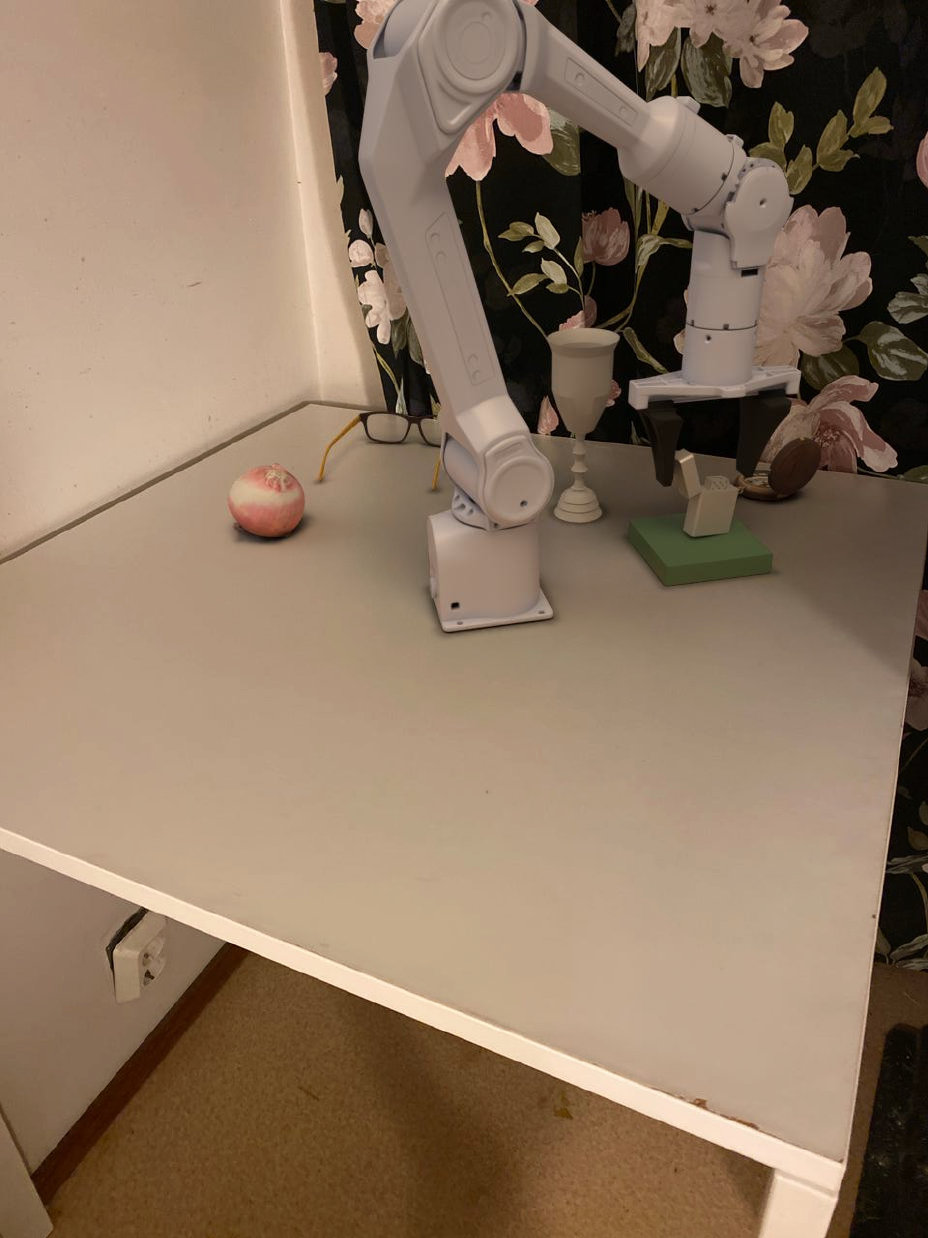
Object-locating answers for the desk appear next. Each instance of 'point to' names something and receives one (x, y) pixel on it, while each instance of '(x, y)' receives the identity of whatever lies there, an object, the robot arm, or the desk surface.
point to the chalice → (581, 404)
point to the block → (697, 550)
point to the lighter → (704, 498)
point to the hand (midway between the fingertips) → (704, 477)
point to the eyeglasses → (363, 418)
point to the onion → (267, 501)
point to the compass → (783, 472)
